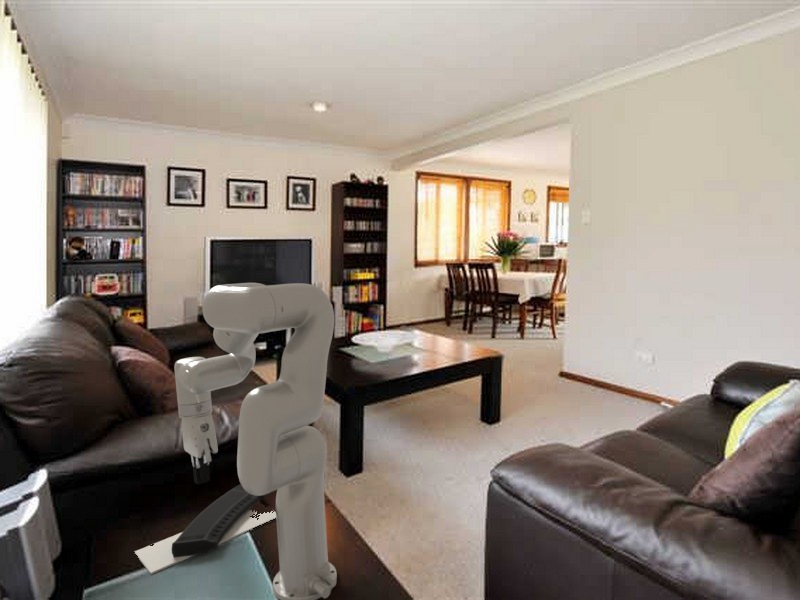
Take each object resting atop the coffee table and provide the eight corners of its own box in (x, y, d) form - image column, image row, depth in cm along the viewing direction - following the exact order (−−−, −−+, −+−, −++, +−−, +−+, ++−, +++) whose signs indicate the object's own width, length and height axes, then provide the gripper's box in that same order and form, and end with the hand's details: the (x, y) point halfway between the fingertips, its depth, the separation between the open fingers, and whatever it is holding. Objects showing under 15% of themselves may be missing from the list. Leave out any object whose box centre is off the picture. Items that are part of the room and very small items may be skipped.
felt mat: (280, 516, 124) (280, 515, 124) (151, 574, 103) (150, 572, 103) (258, 502, 133) (258, 501, 133) (134, 553, 111) (134, 551, 111)
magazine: (198, 566, 104) (287, 502, 131) (197, 551, 104) (287, 490, 131) (144, 549, 112) (239, 492, 139) (143, 535, 112) (238, 481, 139)
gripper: (223, 409, 116) (230, 484, 117) (198, 400, 127) (205, 469, 128) (191, 417, 111) (199, 495, 112) (168, 407, 121) (175, 479, 122)
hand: (202, 481), depth 120 cm, fingers closed
